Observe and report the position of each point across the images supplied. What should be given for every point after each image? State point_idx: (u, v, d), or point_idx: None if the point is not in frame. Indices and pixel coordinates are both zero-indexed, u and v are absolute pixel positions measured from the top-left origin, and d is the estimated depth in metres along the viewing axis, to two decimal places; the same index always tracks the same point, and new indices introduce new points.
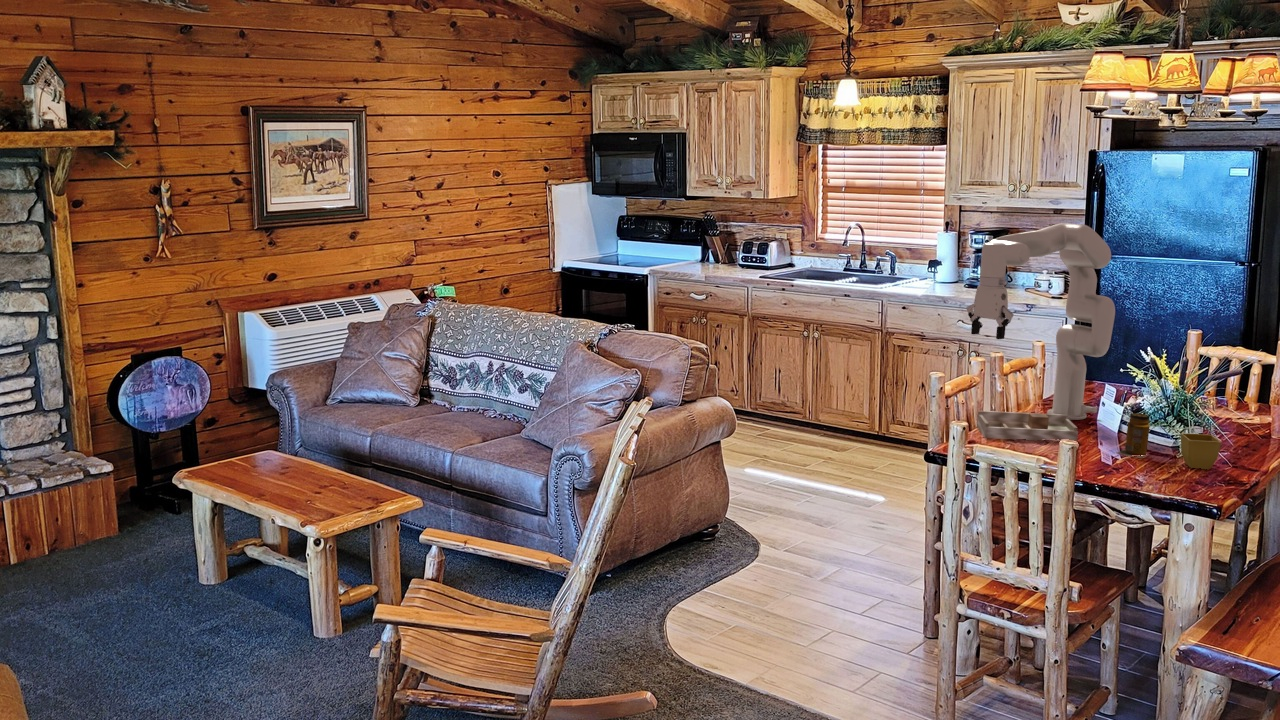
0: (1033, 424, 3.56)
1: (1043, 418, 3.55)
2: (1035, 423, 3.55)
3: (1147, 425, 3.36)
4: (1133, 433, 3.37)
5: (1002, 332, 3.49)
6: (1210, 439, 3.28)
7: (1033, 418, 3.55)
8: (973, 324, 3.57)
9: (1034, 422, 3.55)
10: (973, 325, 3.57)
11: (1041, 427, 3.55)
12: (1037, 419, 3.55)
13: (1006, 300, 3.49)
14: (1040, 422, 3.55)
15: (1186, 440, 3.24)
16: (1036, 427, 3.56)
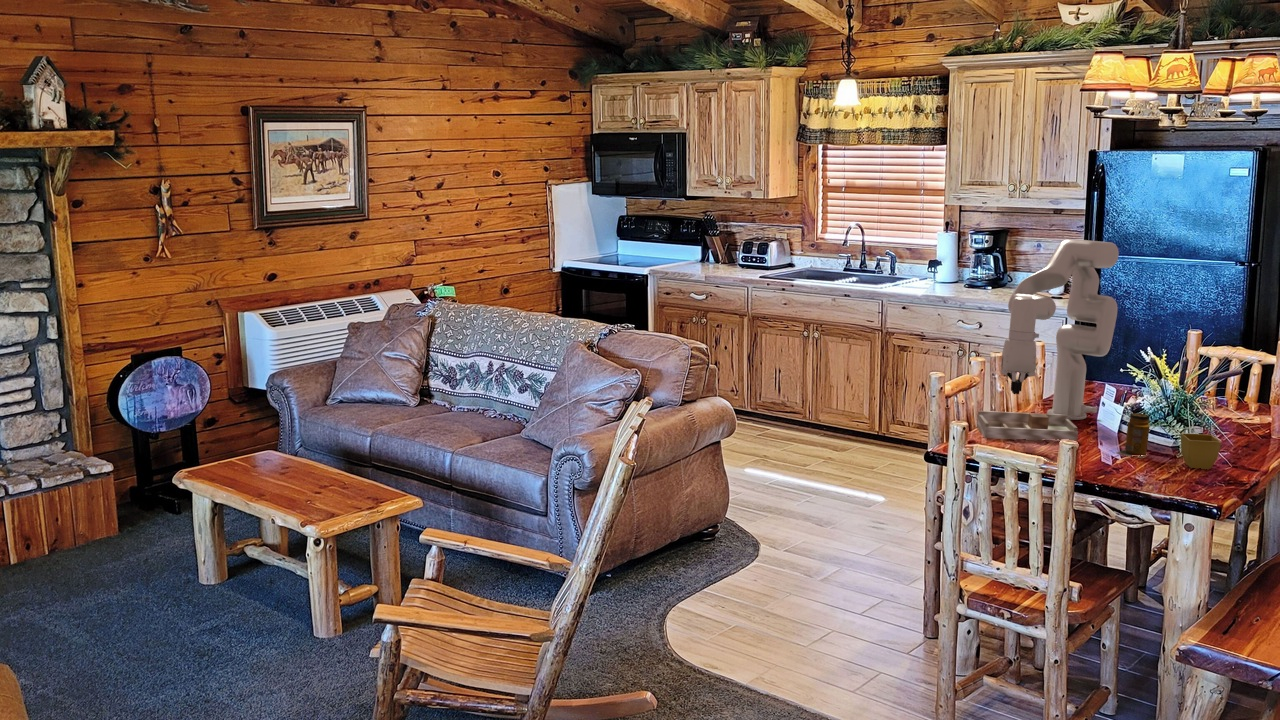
0: (1033, 424, 3.56)
1: (1043, 418, 3.55)
2: (1035, 423, 3.55)
3: (1147, 425, 3.36)
4: (1133, 433, 3.37)
5: None
6: (1210, 439, 3.28)
7: (1033, 418, 3.55)
8: (1016, 384, 3.54)
9: (1034, 422, 3.55)
10: (1016, 385, 3.54)
11: (1041, 427, 3.55)
12: (1037, 419, 3.55)
13: None
14: (1040, 422, 3.55)
15: (1186, 440, 3.24)
16: (1036, 427, 3.56)
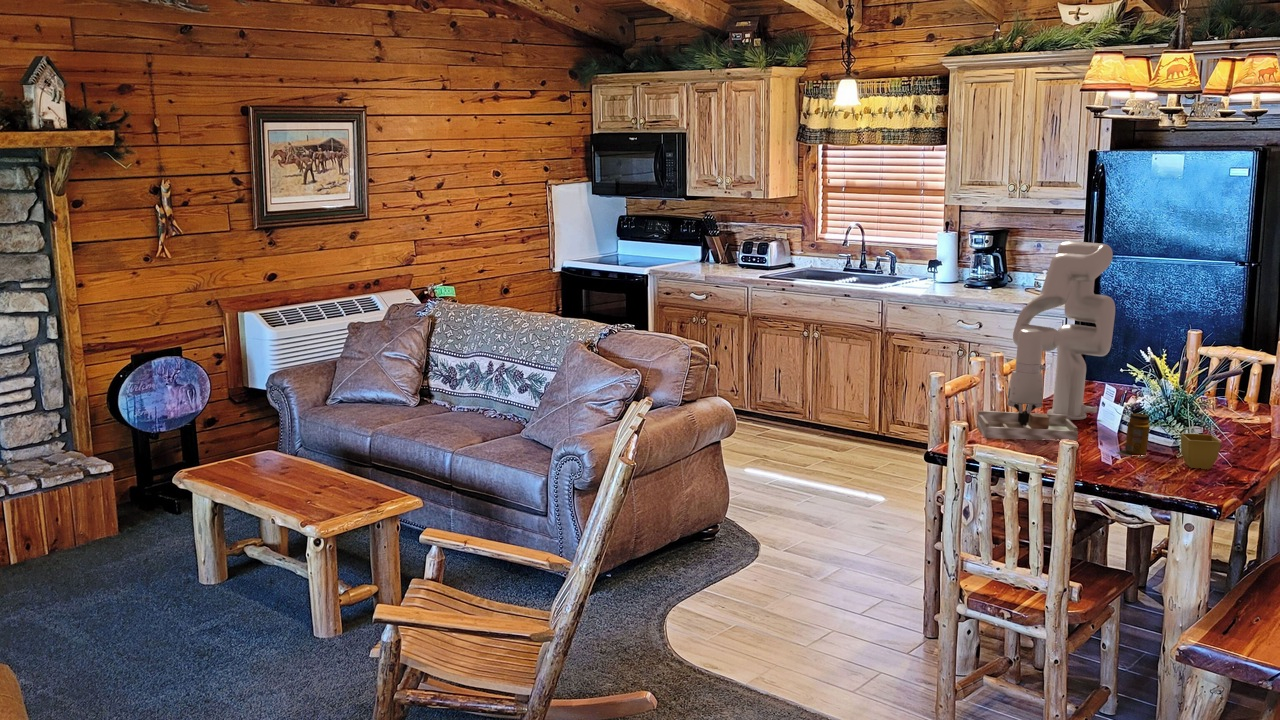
0: (1033, 424, 3.56)
1: (1043, 418, 3.55)
2: (1036, 423, 3.55)
3: (1147, 425, 3.36)
4: (1133, 433, 3.37)
5: None
6: (1210, 439, 3.28)
7: (1033, 418, 3.55)
8: (1023, 415, 3.56)
9: (1034, 422, 3.55)
10: (1023, 416, 3.57)
11: (1041, 427, 3.55)
12: (1037, 419, 3.55)
13: None
14: (1040, 422, 3.55)
15: (1186, 440, 3.24)
16: (1036, 427, 3.56)
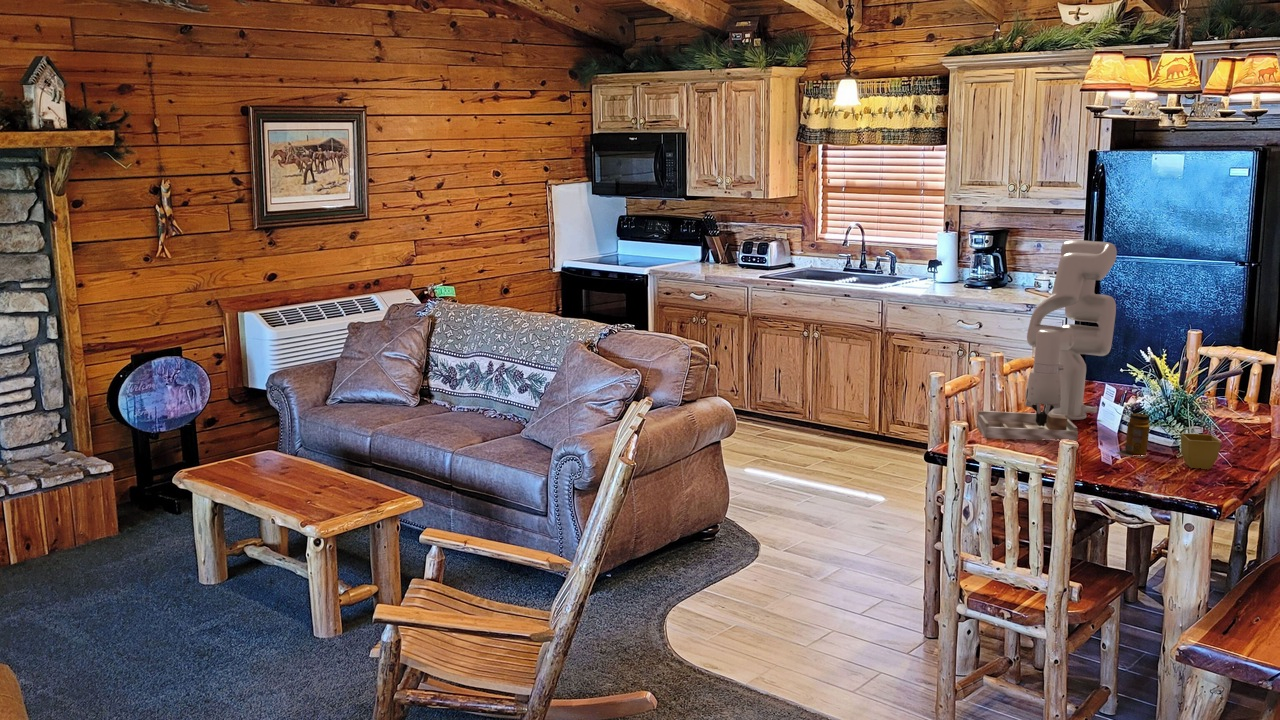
0: (1051, 425, 3.55)
1: (1062, 419, 3.54)
2: (1054, 425, 3.54)
3: (1147, 425, 3.36)
4: (1133, 433, 3.37)
5: None
6: (1210, 439, 3.28)
7: (1051, 419, 3.54)
8: (1041, 416, 3.56)
9: (1052, 424, 3.54)
10: (1041, 417, 3.56)
11: (1059, 428, 3.54)
12: (1055, 420, 3.54)
13: None
14: (1058, 423, 3.54)
15: (1186, 440, 3.24)
16: (1054, 428, 3.55)
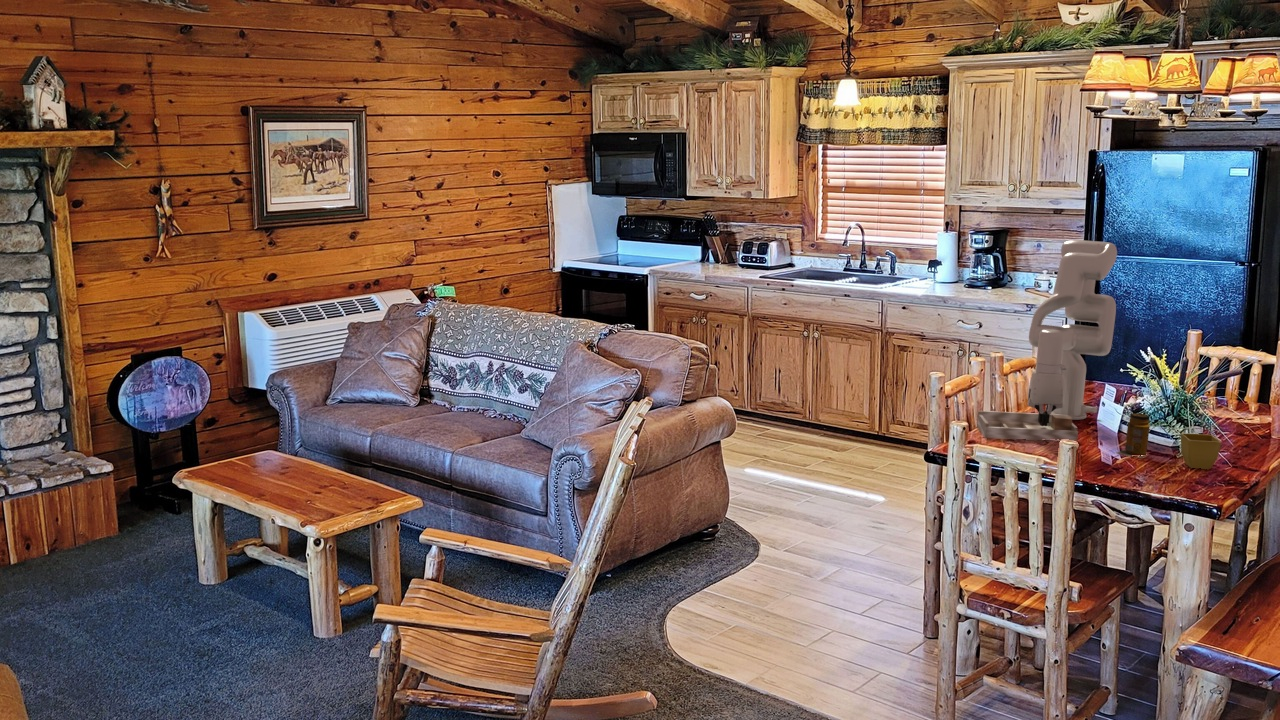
0: (1056, 426, 3.54)
1: (1066, 420, 3.54)
2: (1058, 425, 3.54)
3: (1147, 425, 3.36)
4: (1133, 433, 3.37)
5: None
6: (1210, 439, 3.28)
7: (1056, 420, 3.54)
8: (1044, 416, 3.56)
9: (1057, 424, 3.54)
10: (1044, 417, 3.56)
11: (1064, 429, 3.54)
12: (1060, 421, 3.54)
13: None
14: (1063, 424, 3.54)
15: (1186, 440, 3.24)
16: (1059, 429, 3.54)
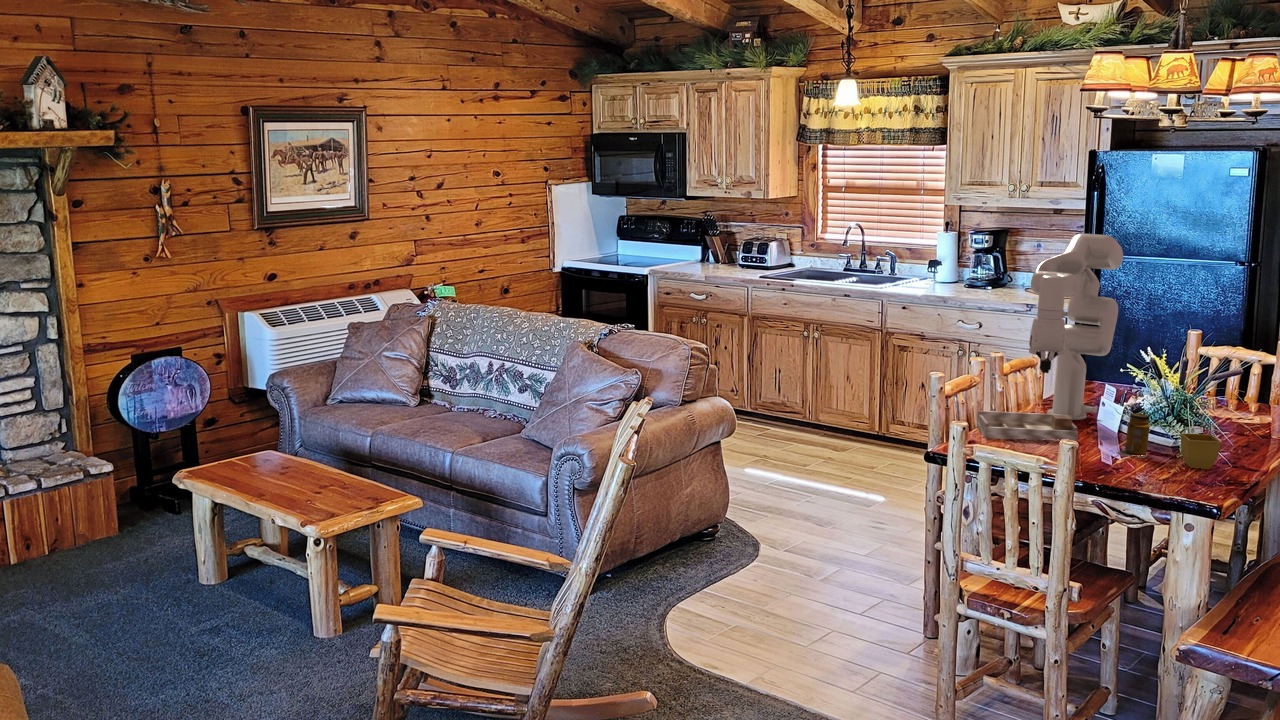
0: (1056, 426, 3.54)
1: (1066, 420, 3.54)
2: (1058, 425, 3.54)
3: (1147, 425, 3.36)
4: (1133, 433, 3.37)
5: None
6: (1210, 439, 3.28)
7: (1056, 420, 3.54)
8: (1045, 363, 3.53)
9: (1057, 424, 3.54)
10: (1045, 364, 3.53)
11: (1064, 429, 3.54)
12: (1060, 421, 3.54)
13: None
14: (1063, 424, 3.54)
15: (1186, 440, 3.24)
16: (1059, 429, 3.54)
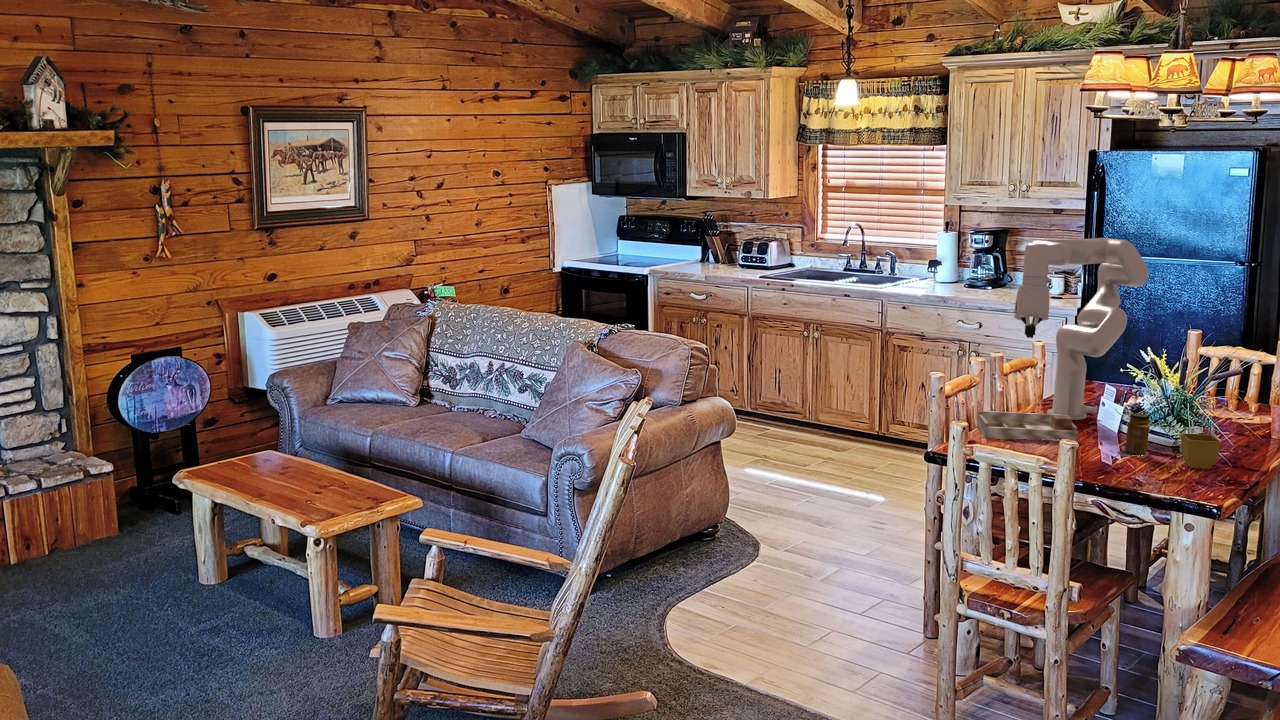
0: (1056, 426, 3.54)
1: (1066, 420, 3.54)
2: (1058, 425, 3.54)
3: (1147, 425, 3.36)
4: (1133, 433, 3.37)
5: None
6: (1210, 439, 3.28)
7: (1056, 420, 3.54)
8: (1030, 328, 3.66)
9: (1057, 424, 3.54)
10: (1030, 329, 3.66)
11: (1064, 429, 3.54)
12: (1060, 421, 3.54)
13: None
14: (1063, 424, 3.54)
15: (1186, 440, 3.24)
16: (1059, 429, 3.54)
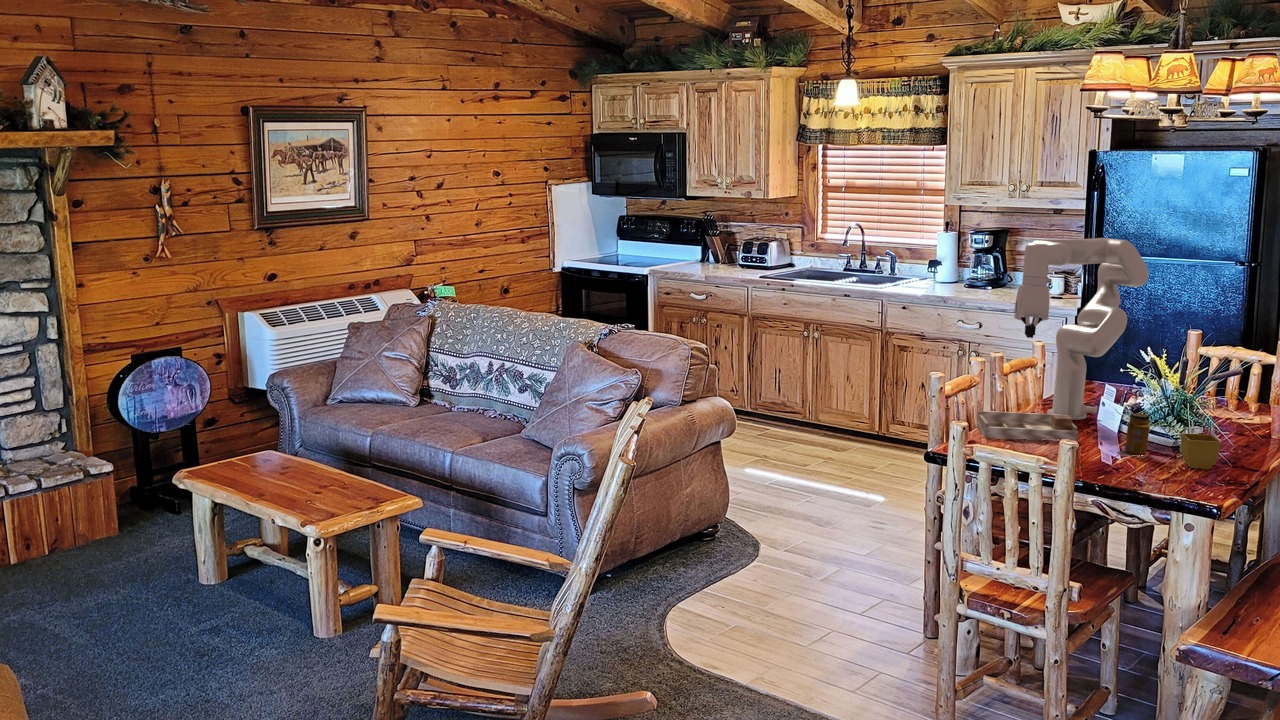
0: (1056, 426, 3.54)
1: (1066, 420, 3.54)
2: (1058, 425, 3.54)
3: (1147, 425, 3.36)
4: (1133, 433, 3.37)
5: None
6: (1210, 439, 3.28)
7: (1056, 420, 3.54)
8: (1030, 328, 3.66)
9: (1057, 424, 3.54)
10: (1030, 329, 3.66)
11: (1064, 429, 3.54)
12: (1060, 421, 3.54)
13: None
14: (1063, 424, 3.54)
15: (1186, 440, 3.24)
16: (1059, 429, 3.54)
